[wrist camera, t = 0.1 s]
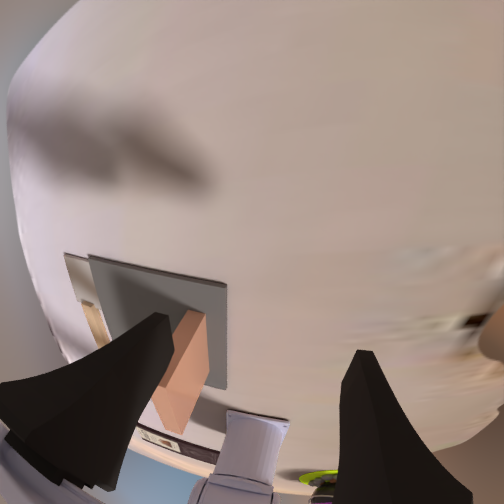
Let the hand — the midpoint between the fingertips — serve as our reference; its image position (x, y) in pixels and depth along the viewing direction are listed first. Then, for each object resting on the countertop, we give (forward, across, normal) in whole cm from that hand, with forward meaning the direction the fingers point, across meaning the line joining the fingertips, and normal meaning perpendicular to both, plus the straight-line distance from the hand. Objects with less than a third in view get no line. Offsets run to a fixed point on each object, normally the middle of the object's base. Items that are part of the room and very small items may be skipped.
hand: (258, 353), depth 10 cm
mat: (+10, +11, +11) cm, 19 cm away
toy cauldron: (+10, -18, +50) cm, 55 cm away
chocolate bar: (+11, +14, +46) cm, 50 cm away
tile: (+10, +7, +11) cm, 16 cm away
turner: (+10, +20, +13) cm, 26 cm away
